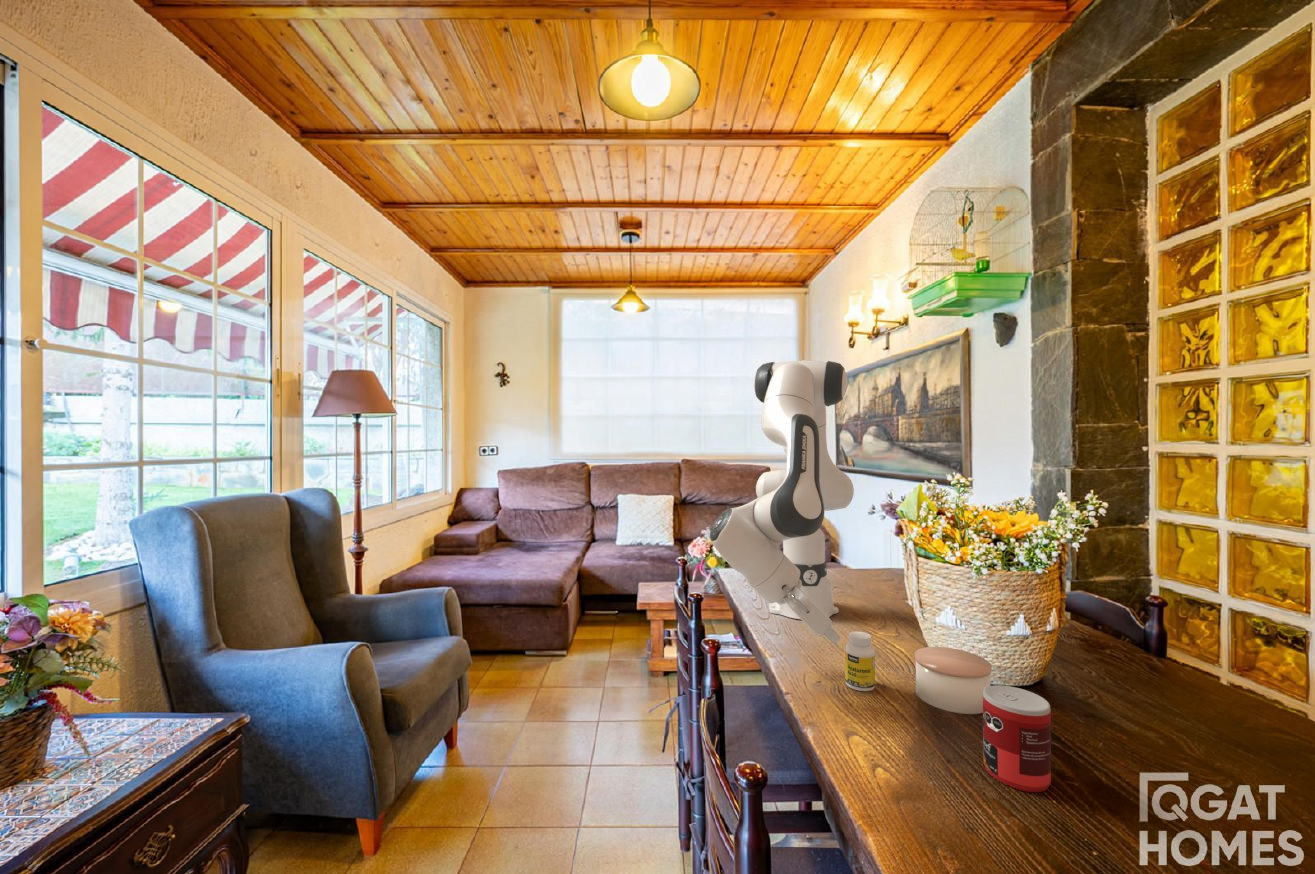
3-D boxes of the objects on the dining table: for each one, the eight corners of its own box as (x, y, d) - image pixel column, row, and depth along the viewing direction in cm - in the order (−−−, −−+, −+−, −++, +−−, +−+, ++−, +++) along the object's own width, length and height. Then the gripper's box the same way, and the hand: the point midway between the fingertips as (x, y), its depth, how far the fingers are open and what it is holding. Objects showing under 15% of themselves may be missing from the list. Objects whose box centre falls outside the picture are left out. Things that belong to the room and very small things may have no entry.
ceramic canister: (902, 682, 105) (902, 646, 105) (965, 682, 105) (965, 646, 105) (936, 715, 92) (936, 674, 92) (1008, 714, 93) (1007, 674, 93)
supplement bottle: (843, 688, 102) (842, 636, 102) (847, 677, 107) (847, 627, 107) (873, 694, 100) (873, 641, 100) (876, 682, 105) (876, 632, 105)
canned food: (987, 752, 81) (987, 679, 81) (1053, 773, 76) (1052, 695, 76) (978, 777, 75) (978, 698, 75) (1049, 801, 70) (1048, 717, 70)
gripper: (804, 582, 93) (860, 638, 93) (776, 557, 113) (822, 603, 114) (778, 608, 93) (835, 664, 93) (755, 578, 113) (801, 624, 113)
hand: (828, 630), depth 103 cm, fingers open, 8 cm apart
